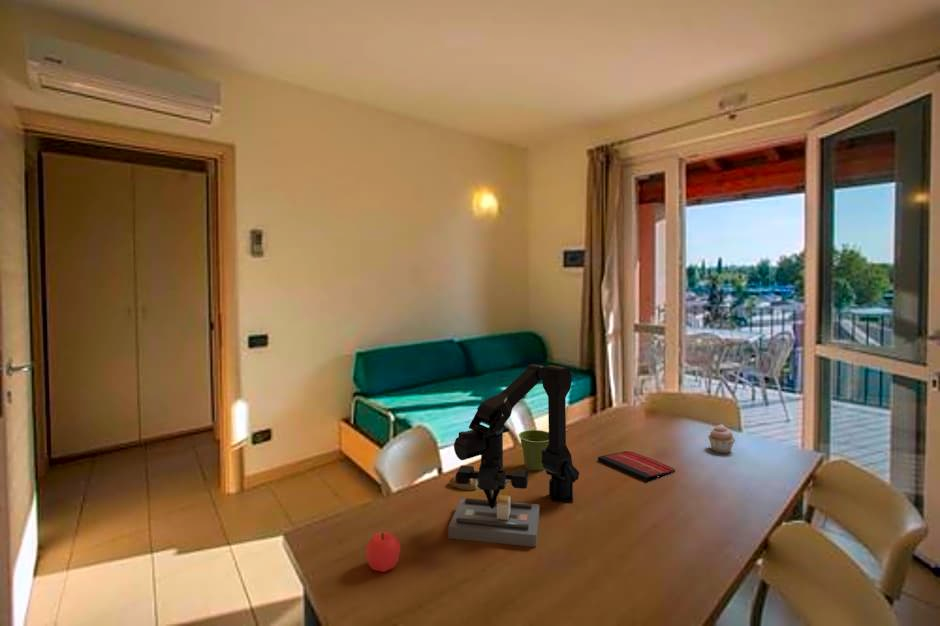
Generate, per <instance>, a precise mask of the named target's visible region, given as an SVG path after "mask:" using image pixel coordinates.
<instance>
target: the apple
mask: <svg viewBox="0 0 940 626" xmlns="http://www.w3.org/2000/svg"><path fill="white" fill-rule="evenodd" d="M365 547H366V548H365V556H366V560H367V564H368V566H369V567H370V568H371V569H372V570H373V571H377V572H382V573H384V572H388V571H390V570H392V569H393V568H395V567H396V565H397V563H398V561H399V559H400V558H399V557H400V553H401V543H400V540H399V539H398V538H397V537H396V536H395V535H394V534H393V533H392V532H387V531H381V532H378V533H375V534H373V535H372V537H371V538H370V539H369V541H368V543H367V545H366V546H365Z"/></svg>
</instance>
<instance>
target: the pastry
mask: <svg viewBox="0 0 940 626" xmlns="http://www.w3.org/2000/svg"><path fill="white" fill-rule="evenodd" d="M448 483H449V484H450V486H452V488H457V489H460V490H466V491H473V490H474V491H475V490H477V489H479V488H478V487H477V484H478V480H477V479H471V478H470V482H469V483H468V484H457V483H456V475H455V476H453V477H451V478H450V479H449V481H448Z"/></svg>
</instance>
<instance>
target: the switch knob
mask: <svg viewBox="0 0 940 626" xmlns="http://www.w3.org/2000/svg"><path fill="white" fill-rule="evenodd" d="M497 501H498V502H497V519H503V520H508V519H509V515H510V511H511V502H512V501H511V495H501V494H500V495H499V494H498V497H497Z"/></svg>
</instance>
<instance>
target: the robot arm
mask: <svg viewBox="0 0 940 626" xmlns="http://www.w3.org/2000/svg"><path fill="white" fill-rule="evenodd" d="M572 378H573V373H572V371H570V370H569V368H567V367H562V366H557V365H552V364H549V365H547V366H545V367H544V366H542V365H539V364H538V365H537V364H534V363H533V364H529V365H527V366H526V368H525V370H524V371H523V372H522V373H521V374H519V376H518V377H517V378H515V379H514V380H513V381H512V382H511V383H510V384H509V385H508V386H507V387H506V388H505V389H504V390H503V391H502V392H500V393H498V394H497V395H494V396H491V397H489V398H487V399H486V400H484V401H483V402H480V404H479V405H478V406H477V408H476V409H477V410H476V412H475V414H474V416H473V418H472V419H471V422H470V423H469V425H468V429H469V430H467V431H466V430H465V431H463V430H462V431H459V432H458V436H457V437H456V438H455V440H454V443H453V449H454V453H455V455H456V457H457V458H458V459H459V460H460V461H464V460H465V461H466V460H469V459H472V458H475V457H479V456H480V463H479V467H478V468H479V469H478V470H475V467H474V465H460V466H459V467H458V468H457V470H456V473H455V476H456V483H457V484H468V483H469V482H470V478H471V479H477V480H478V484H477V487H478V488H477V489H480V490H482V491H483V492H484V494H485V496H486V500H488V502H489V505H490V508H494V505H495V502H496V501H497V500H498V497H499V494H500V492H501V490H505V489H506V487H507V482H510V483H511V486H512V487H513V488H514V489H520V490H521V489H523V490H524V489H527V488H528V483H529V472H528V471H527V470H528V469H527V470H526V469H518V468H514V469H513V471H512V473H509V472H508V473H507V472H506V470H505V469H504V447H503V445H504V438H503V437H504V435H503V434H505V433H509V432H510V429H509V428H508V427H507V426H506V425H505V424H506V423H507V421H508V420H509V419H510V417H511V415H512V411H513V409H514V407H515V406H516V405H518V403H519V402H520V401H521V400H522V399H523V398H524V397H525V396H526V395H527V394H528V393H530V391H532V389H533V388H535V387H536V386H537V384H539V382H542V388H543V389H544V391H545V393H546V395H547V403H548V406H547V407H548V410H547V411H548V413H547V414H548V418H547V419H548V432H549V444H548V446H547V448H546V449H545V450H542V452H541V453H542V461H541V463H542V464H543V467H544V468H545V469H544V471H545V474H546V475H548V476H551V478H550V479H549V482H548V486H549V487H548V489H549V490H548V496H550V501H552V502H553V501H554V502H566V503H573V502H574V483H576V481H578V480H579V478H580V471H579V470H578V469H577V468H576V467H575V466H574V465H573V458H572V454H571V452H570V450H569V448H568V446H567V444H566V443H567V441H566V440H567V435H566V434H567V432H566V431H567V425H566V424H567V423H566V421H567V420H566V419H567V417H566V416H567V413H566V411H567V409H566V408H567V407H566V404H567V403H566V401H567V399H566V397H567V395H568V393H569V392H570V390H571V389H572V381H573V379H572ZM481 423H482V424H481ZM483 424H484V425H483ZM486 425H487V426H486ZM488 426H489V427H488Z"/></svg>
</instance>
